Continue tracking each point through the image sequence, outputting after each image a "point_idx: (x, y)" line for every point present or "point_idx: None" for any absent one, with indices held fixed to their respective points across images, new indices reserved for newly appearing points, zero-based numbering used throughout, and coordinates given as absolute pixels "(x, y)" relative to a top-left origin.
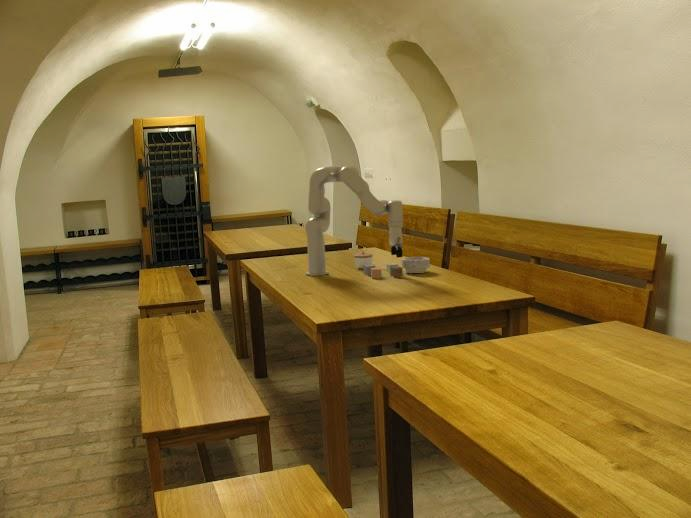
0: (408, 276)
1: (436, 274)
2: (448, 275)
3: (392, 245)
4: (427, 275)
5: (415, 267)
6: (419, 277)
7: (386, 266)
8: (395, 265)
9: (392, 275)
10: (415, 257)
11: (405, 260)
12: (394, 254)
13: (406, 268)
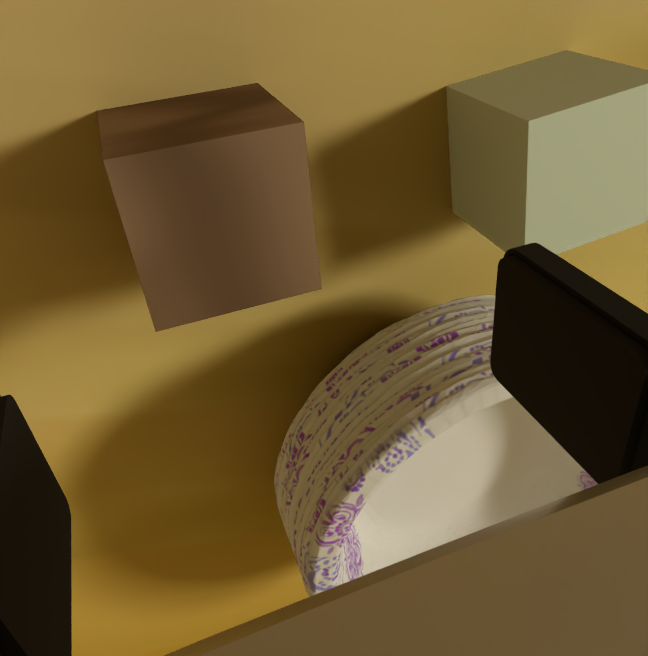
0: (168, 332)
1: (238, 569)
2: (161, 652)
3: (310, 600)
4: (198, 511)
5: (282, 471)
6: (71, 454)
7: (632, 66)
8: (514, 218)
9: (166, 105)
10: None
11: (419, 418)
12: (498, 319)
13: (350, 354)
